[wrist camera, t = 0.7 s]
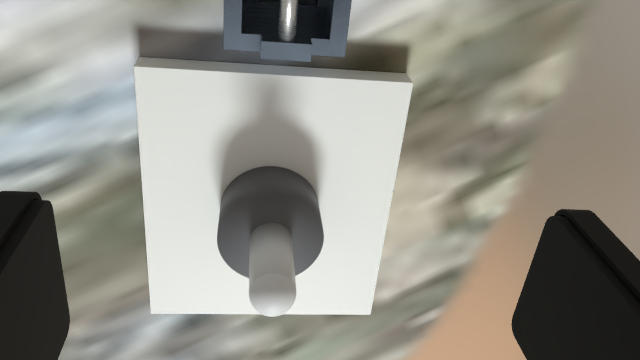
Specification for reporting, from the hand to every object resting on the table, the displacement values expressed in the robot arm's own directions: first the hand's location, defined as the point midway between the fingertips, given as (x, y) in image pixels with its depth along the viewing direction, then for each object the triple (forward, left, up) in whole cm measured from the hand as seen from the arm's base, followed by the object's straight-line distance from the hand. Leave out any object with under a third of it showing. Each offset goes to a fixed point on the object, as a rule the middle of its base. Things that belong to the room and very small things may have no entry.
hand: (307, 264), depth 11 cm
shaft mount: (+11, 0, -20) cm, 23 cm away
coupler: (-2, 0, -20) cm, 20 cm away
